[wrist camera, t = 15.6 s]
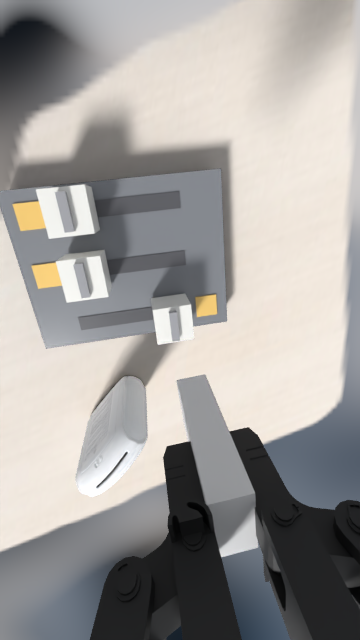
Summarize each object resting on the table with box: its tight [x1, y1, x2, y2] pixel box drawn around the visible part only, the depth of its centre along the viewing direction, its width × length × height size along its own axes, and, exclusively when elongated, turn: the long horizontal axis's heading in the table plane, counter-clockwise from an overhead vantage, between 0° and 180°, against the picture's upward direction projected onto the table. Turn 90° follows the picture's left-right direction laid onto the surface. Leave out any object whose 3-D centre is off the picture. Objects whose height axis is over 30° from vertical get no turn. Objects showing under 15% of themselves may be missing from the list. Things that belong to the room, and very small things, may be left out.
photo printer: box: [76, 376, 148, 497], centre depth 36 cm, size 10×4×12 cm, turn 141°
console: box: [0, 169, 227, 349], centre depth 33 cm, size 22×17×3 cm
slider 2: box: [151, 293, 194, 345], centre depth 31 cm, size 4×4×5 cm
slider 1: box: [36, 184, 100, 239], centre depth 26 cm, size 4×4×5 cm
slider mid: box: [56, 250, 112, 303], centre depth 28 cm, size 4×4×5 cm
